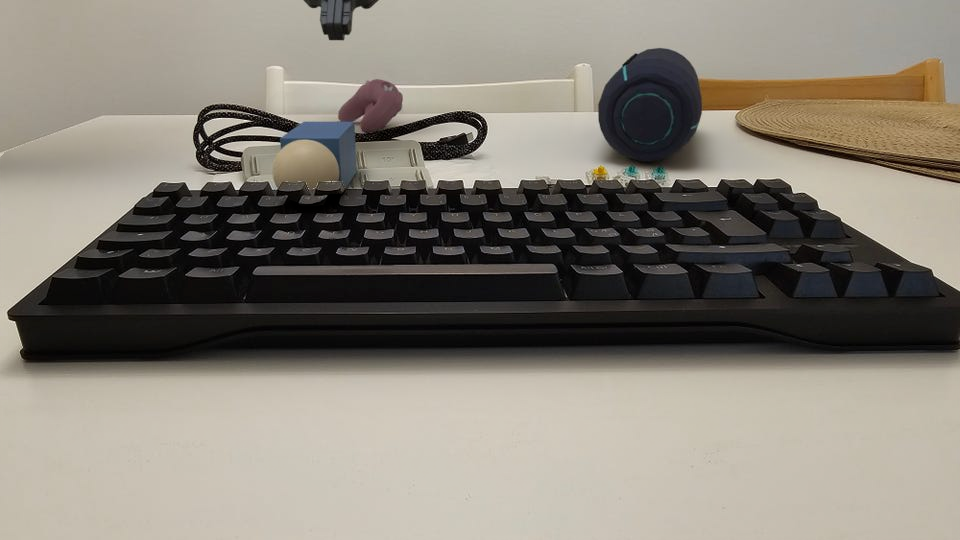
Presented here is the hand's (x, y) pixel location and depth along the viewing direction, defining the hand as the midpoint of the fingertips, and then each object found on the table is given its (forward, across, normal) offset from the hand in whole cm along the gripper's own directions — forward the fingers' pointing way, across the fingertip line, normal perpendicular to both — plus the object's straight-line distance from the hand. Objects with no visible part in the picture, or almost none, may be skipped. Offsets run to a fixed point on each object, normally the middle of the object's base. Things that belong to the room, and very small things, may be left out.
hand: (335, 34), depth 66 cm
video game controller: (-4, +1, +21) cm, 21 cm away
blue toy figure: (+11, 0, +2) cm, 12 cm away
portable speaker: (+4, +33, +13) cm, 36 cm away
